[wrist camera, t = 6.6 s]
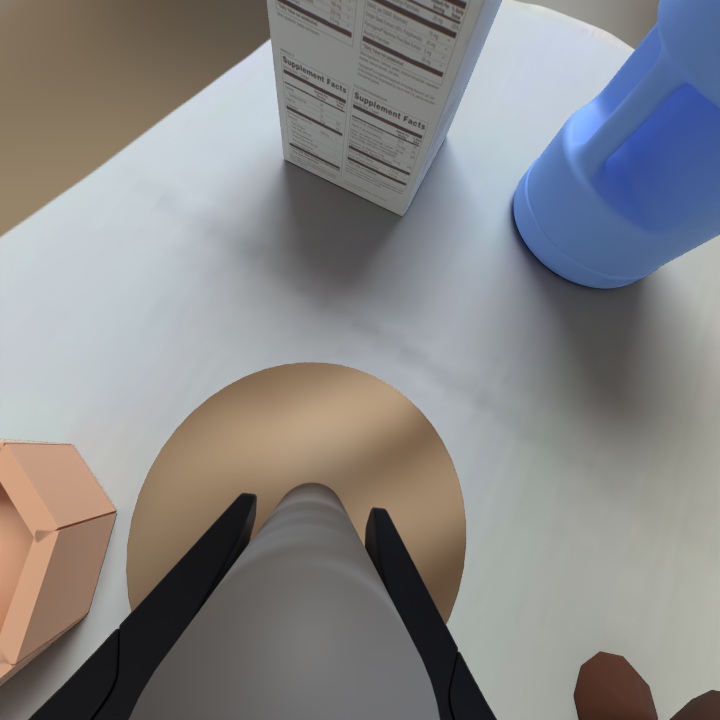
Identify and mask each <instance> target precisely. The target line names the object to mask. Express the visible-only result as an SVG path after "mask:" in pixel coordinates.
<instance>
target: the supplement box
mask: <svg viewBox="0 0 720 720" xmlns="http://www.w3.org/2000/svg"><path fill="white" fill-rule="evenodd" d="M501 2H502V0H267V7H268V16H269V25H270V34H271V43H272V52H273V62H274V70H275V79H276V89H277V98H278V108H279V117H280V126H281V135H282V145H283V154H284V159H285V160H287V161H289V162H291V163H293V164H295V165H297V166H299V167H301V168H303V169H305V170H307V171H310V172H312V173H314V174H316V175H318V176H320V177H322V178H324V179H326V180H328V181H330V182H332V183H334V184H336V185H338V186H340V187H342V188H344V189H346V190H348V191H351V192H353V193H355V194H357V195H359V196H361V197H363V198H365V199H367V200H369V201H371V202H373V203H375V204H377V205H379V206H381V207H383V208H386V209H388V210H390V211H392V212H394V213H396V214H398V215H400V216H403V215H404V214H405V213H406V211H407V209H408V208H409V206H410V204H411V202H412V200H413V198H414V196H415V194H416V192H417V190H418V188H419V186H420V185H421V183H422V181H423V179H424V177H425V175H426V173H427V171H428V169H429V167H430V166H431V164H432V162H433V160H434V158H435V156H436V154H437V152H438V150H439V148H440V146H441V144H442V142H443V141H444V139H445V137H446V135H447V133H448V130H449V128H450V126H451V123H452V121H453V118H454V116H455V113H456V111H457V109H458V106H459V104H460V101H461V99H462V96H463V94H464V92H465V89H466V87H467V84H468V82H469V79H470V77H471V75H472V72H473V70H474V67H475V65H476V62H477V60H478V57H479V55H480V53H481V50H482V48H483V45H484V43H485V40H486V38H487V36H488V33H489V31H490V28H491V26H492V23H493V21H494V18H495V16H496V14H497V11H498V9H499V6H500V4H501Z"/></svg>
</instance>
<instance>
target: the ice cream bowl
mask: <svg viewBox="0 0 720 720" xmlns="http://www.w3.org/2000/svg"><path fill="white" fill-rule="evenodd" d="M574 698H575V703H576V708H577V712H578V717H579V720H658V716H657V713H656V709H655V706H654V702H653V698H652V695H651V691H650V687H649V685H648V684H647V683H646V682H645V681H644V680H643V679H642V677H641V676H640V675H639V674H638V673H637V672H636V670H635V669H634V668H633V667H632V666H631V665H630V664H629V662H628V661H627V660H626V659H625V658H624V657H623V656H619V655H614V654H610V653H605V652H599V653H597V654H596V655H595V656H594V657H592V658H591V659H590V660H588V661H587V662H586V663H584V664H583V665H582V666H581V669H580V673H579V677H578V681H577V685H576V689H575V693H574ZM670 720H720V691H715V690H711V691H709V692H707V693H704V694H702V695H700V696H698V697H696V698H694V699H692V700H691V701H690V702H688V703H687V704H686V705H685V706H684V707H683V708H682V709H681V710H680V711H679V712H677V713H676V714H675V715H674V716H673V717H672V718H671V719H670Z"/></svg>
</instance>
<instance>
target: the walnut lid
mask: <svg viewBox="0 0 720 720" xmlns="http://www.w3.org/2000/svg"><path fill="white" fill-rule="evenodd" d="M241 493H252V494H256V496H257V508H256V518H255V522H254V526H253V530H252V534H251V538H250V542H249V544H248V546H247V547H246V548H245V550H244V551H243V552H242V554H241V555H240V556H239V558H238V559H237V560H236V562H235V563H234V564H233V566H232V567H231V569H230V570H229V571H228V573H227V574H226V575H225V577H224V578H223V579H222V581H221V582H220V583H219V585H218V586H217V587H216V589H215V590H214V592H213V593H212V594H211V596H210V597H209V598H208V600H207V601H206V602H205V604H204V605H203V606H202V608H201V609H200V610H199V612H198V613H197V615H196V616H195V617H194V619H193V620H192V621H191V623H190V624H189V625H188V627H187V628H186V629H185V631H184V632H183V633H182V635H181V636H180V638H179V639H178V640H177V642H176V643H175V644H174V646H173V647H172V648H171V650H170V651H169V652H168V654H167V655H166V656H165V658H164V659H163V661H162V662H161V663H160V665H159V666H158V667H157V669H156V670H155V671H154V673H153V675H152V676H151V678H150V680H149V681H148V683H147V685H146V686H145V688H144V690H143V692H142V693H141V695H140V697H139V699H138V701H137V703H136V705H135V707H134V709H133V712H132V714H131V716H130V718H129V720H440V717H439V712H438V706H437V701H436V698H435V695H434V691H433V688H432V684H431V681H430V678H429V675H428V673H427V671H426V668H425V666H424V663H423V661H422V658H421V656H420V654H419V653H418V651H417V649H416V647H415V645H414V643H413V641H412V639H411V637H410V635H409V633H408V631H407V629H406V627H405V625H404V623H403V621H402V619H401V617H400V615H399V613H398V612H397V610H396V608H395V606H394V604H393V602H392V600H391V598H390V596H389V594H388V592H387V590H386V588H385V586H384V584H383V582H382V580H381V578H380V576H379V574H378V572H377V571H376V569H375V567H374V565H373V563H372V561H371V559H370V557H369V555H368V553H367V551H366V549H365V529H366V524H367V521H368V517H369V514H370V511H371V509H372V508H373V507H377V508H384V509H386V510H387V512H388V514H389V515H390V517H391V519H392V521H393V523H394V525H395V527H396V529H397V531H398V533H399V535H400V537H401V539H402V541H403V543H404V545H405V546H406V548H407V550H408V552H409V554H410V556H411V558H412V560H413V562H414V564H415V566H416V568H417V570H418V572H419V574H420V576H421V577H422V579H423V581H424V583H425V585H426V587H427V589H428V591H429V593H430V595H431V597H432V599H433V601H434V603H435V605H436V607H437V608H438V610H439V612H440V614H441V616H442V618H443V620H444V622H445V624H447V621H448V619H449V617H450V615H451V612H452V609H453V606H454V603H455V600H456V597H457V595H458V591H459V587H460V582H461V578H462V573H463V569H464V559H465V550H466V519H465V510H464V501H463V496H462V492H461V488H460V483H459V479H458V476H457V473H456V471H455V468H454V465H453V462H452V459H451V457H450V455H449V453H448V451H447V449H446V447H445V445H444V443H443V441H442V440H441V438H440V436H439V435H438V433H437V432H436V430H435V429H434V427H433V426H432V424H431V423H430V422H429V421H428V419H427V418H426V417H425V416H424V414H423V413H422V412H421V411H420V410H419V409H418V408H417V407H416V406H415V405H414V404H413V403H412V402H411V401H410V400H409V399H408V398H407V397H405V396H404V395H403V394H401V393H400V392H399V391H397V390H396V389H395V388H393V387H392V386H390V385H389V384H387V383H385V382H383V381H382V380H380V379H378V378H376V377H374V376H372V375H369V374H367V373H364V372H362V371H359V370H356V369H353V368H349V367H345V366H341V365H335V364H328V363H294V364H285V365H281V366H276V367H272V368H268V369H264V370H262V371H259V372H256V373H253V374H251V375H248V376H245V377H243V378H242V379H240V380H238V381H236V382H234V383H232V384H230V385H228V386H226V387H225V388H223V389H222V390H220V391H219V392H217V393H216V394H214V395H213V396H211V397H210V398H208V399H207V400H206V401H205V402H204V403H203V404H201V405H200V406H199V407H198V408H197V409H195V410H194V411H193V412H192V413H191V414H190V415H189V416H188V417H187V418H186V419H185V420H184V422H183V423H182V424H181V425H180V426H179V427H178V428H177V429H176V430H175V432H174V433H173V434H172V436H171V437H170V438H169V440H168V441H167V442H166V444H165V445H164V446H163V448H162V449H161V451H160V453H159V454H158V456H157V458H156V460H155V461H154V463H153V465H152V466H151V468H150V470H149V472H148V475H147V477H146V479H145V482H144V484H143V486H142V488H141V491H140V493H139V496H138V500H137V503H136V506H135V510H134V513H133V516H132V521H131V527H130V532H129V538H128V544H127V565H126V574H127V586H128V597H129V602H130V607H131V611H133V610H134V609H135V608H136V607H137V606H138V605H139V604H140V603H141V601H142V600H143V599H144V598H145V597H146V596H147V595H148V594H149V593H150V592H151V591H152V589H153V588H154V587H155V586H156V585H157V584H158V583H159V582H160V581H161V580H162V579H163V577H164V576H165V575H166V574H167V573H168V572H169V571H170V570H171V569H172V568H173V567H174V566H175V564H176V563H177V562H178V561H179V560H180V559H181V558H182V557H183V556H184V555H185V554H186V552H187V551H188V550H189V549H190V548H191V547H192V546H193V545H194V544H195V543H196V542H197V540H198V539H199V538H200V537H201V536H202V535H203V534H204V533H205V532H206V531H207V530H208V529H209V527H210V526H211V525H212V524H213V523H214V522H215V521H216V520H217V519H218V518H219V517H220V515H221V514H222V513H223V512H224V511H225V510H226V509H227V508H228V507H229V506H230V505H231V504H232V502H233V501H234V500H235V499H236V498H237V497H238V496H239V495H240V494H241Z"/></svg>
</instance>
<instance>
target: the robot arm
mask: <svg viewBox="0 0 720 720" xmlns="http://www.w3.org/2000/svg"><path fill="white" fill-rule="evenodd" d="M256 508H257V496H256V494H252V493H241V494H240V495H239V496H238V497H237V498H236V499H235V500H234V501H233V502H232V504H231V505H230V506H229V507H228V508H227V509H226V510H225V511H224V512H223V513H222V514H221V515H220V517H219V518H218V519H217V520H216V521H215V522H214V523H213V524H212V525H211V526H210V527H209V529H208V530H207V531H206V532H205V533H204V534H203V535H202V536H201V537H200V538H199V539H198V540H197V542H196V543H195V544H194V545H193V546H192V547H191V548H190V549H189V550H188V551H187V552H186V554H185V555H184V556H183V557H182V558H181V559H180V560H179V561H178V562H177V563H176V564H175V566H174V567H173V568H172V569H171V570H170V571H169V572H168V573H167V574H166V575H165V576H164V577H163V579H162V580H161V581H160V582H159V583H158V584H157V585H156V586H155V587H154V588H153V589H152V591H151V592H150V593H149V594H148V595H147V596H146V597H145V598H144V599H143V600H142V601H141V603H140V604H139V605H138V606H137V607H136V608H135V609H134V610H133V611H132V612H131V613H130V614H129V616H128V617H127V618H126V619H125V620H124V621H123V622H122V623H121V624H120V626H119V629H116V630H115V631H114V632H113V633H112V634H111V635H110V636H109V637H108V638H107V639H106V640H105V641H104V643H103V644H102V645H101V646H100V647H99V648H98V649H97V650H96V651H95V652H94V653H93V654H92V655H91V656H90V658H89V659H88V660H87V661H86V662H85V663H84V664H83V665H82V666H81V667H80V668H79V669H78V670H77V671H76V672H75V673H74V674H73V675H72V676H71V677H70V679H69V680H68V681H67V682H66V683H65V684H64V685H63V686H62V687H61V688H60V689H59V690H58V691H57V692H55V693H54V694H53V695H52V696H51V697H50V698H49V699H48V700H47V701H46V702H45V703H44V704H43V705H42V706H41V707H40V708H39V709H38V710H37V711H36V712H35V713H34V714H33V715H32V716H31V717H30V718H29V719H28V720H129V718H130V716H131V714H132V712H133V709H134V707H135V705H136V703H137V701H138V699H139V697H140V695H141V693H142V692H143V690H144V688H145V686H146V685H147V683H148V681H149V680H150V678H151V676H152V675H153V673H154V671H155V670H156V669H157V667H158V666H159V665H160V663H161V662H162V661H163V659H164V658H165V656H166V655H167V654H168V652H169V651H170V650H171V648H172V647H173V646H174V644H175V643H176V642H177V640H178V639H179V638H180V636H181V635H182V633H183V632H184V631H185V629H186V628H187V627H188V625H189V624H190V623H191V621H192V620H193V619H194V617H195V616H196V615H197V613H198V612H199V610H200V609H201V608H202V606H203V605H204V604H205V602H206V601H207V600H208V598H209V597H210V596H211V594H212V593H213V592H214V590H215V589H216V587H217V586H218V585H219V583H220V582H221V581H222V579H223V578H224V577H225V575H226V574H227V573H228V571H229V570H230V569H231V567H232V566H233V564H234V563H235V562H236V560H237V559H238V558H239V556H240V555H241V554H242V552H243V551H244V550H245V548H246V547H247V546H248V544H249V542H250V538H251V534H252V530H253V526H254V522H255V518H256ZM365 549H366V551H367V553H368V555H369V557H370V559H371V561H372V563H373V565H374V567H375V569H376V571H377V572H378V574H379V576H380V578H381V580H382V582H383V584H384V586H385V588H386V590H387V592H388V594H389V596H390V598H391V600H392V602H393V604H394V606H395V608H396V610H397V612H398V613H399V615H400V617H401V619H402V621H403V623H404V625H405V627H406V629H407V631H408V633H409V635H410V637H411V639H412V641H413V643H414V645H415V647H416V649H417V651H418V653H419V654H420V656H421V658H422V661H423V663H424V666H425V668H426V671H427V673H428V675H429V678H430V681H431V684H432V688H433V691H434V695H435V698H436V701H437V706H438V712H439V717H440V720H497V719H496V717H495V715H494V714H493V712H492V710H491V709H490V707H489V705H488V704H487V702H486V700H485V698H484V696H483V694H482V693H481V691H480V689H479V687H478V685H477V683H476V682H475V680H474V678H473V676H472V674H471V672H470V670H469V668H468V666H467V664H466V662H465V661H464V659H463V657H462V655H461V653H460V652H458V647H457V645H456V643H455V641H454V639H453V638H452V636H451V634H450V632H449V630H448V628H447V626H446V624H445V622H444V620H443V618H442V616H441V614H440V612H439V610H438V608H437V607H436V605H435V603H434V601H433V599H432V597H431V595H430V593H429V591H428V589H427V587H426V585H425V583H424V581H423V579H422V577H421V576H420V574H419V572H418V570H417V568H416V566H415V564H414V562H413V560H412V558H411V556H410V554H409V552H408V550H407V548H406V546H405V545H404V543H403V541H402V539H401V537H400V535H399V533H398V531H397V529H396V527H395V525H394V523H393V521H392V519H391V517H390V515H389V514H388V512H387V510H386V509H384V508H377V507H373V508H372V509H371V511H370V514H369V517H368V521H367V524H366V529H365Z"/></svg>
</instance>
